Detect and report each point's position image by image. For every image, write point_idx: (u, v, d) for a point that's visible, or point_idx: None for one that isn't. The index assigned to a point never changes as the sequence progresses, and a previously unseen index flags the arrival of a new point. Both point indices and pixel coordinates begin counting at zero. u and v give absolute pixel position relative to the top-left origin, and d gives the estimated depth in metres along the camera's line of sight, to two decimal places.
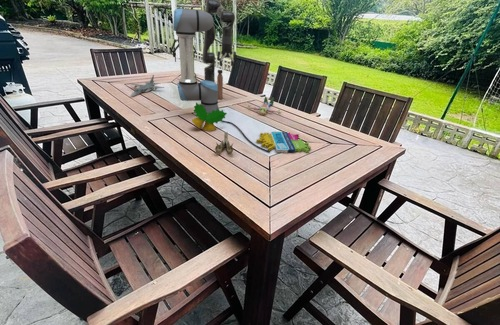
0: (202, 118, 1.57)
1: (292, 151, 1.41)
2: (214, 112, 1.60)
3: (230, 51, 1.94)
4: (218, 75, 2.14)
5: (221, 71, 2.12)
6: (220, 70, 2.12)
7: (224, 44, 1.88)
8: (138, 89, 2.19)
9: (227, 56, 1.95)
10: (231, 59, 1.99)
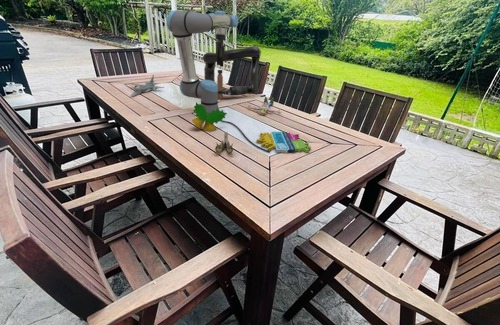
0: (202, 118, 1.57)
1: (292, 151, 1.41)
2: (214, 112, 1.60)
3: None
4: (218, 75, 2.14)
5: (221, 71, 2.12)
6: (220, 70, 2.12)
7: (235, 94, 2.26)
8: (138, 89, 2.19)
9: None
10: None
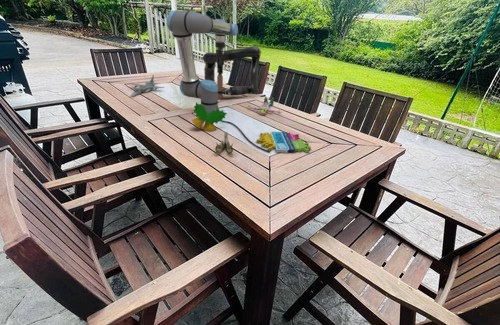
0: (202, 118, 1.57)
1: (292, 151, 1.41)
2: (214, 112, 1.60)
3: None
4: (218, 75, 2.14)
5: None
6: None
7: (235, 94, 2.26)
8: (138, 89, 2.19)
9: None
10: None
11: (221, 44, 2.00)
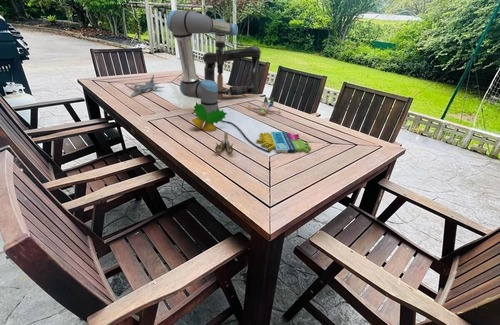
0: (202, 118, 1.57)
1: (292, 151, 1.41)
2: (214, 112, 1.60)
3: None
4: (218, 75, 2.14)
5: None
6: None
7: (235, 94, 2.26)
8: (138, 89, 2.19)
9: None
10: None
11: (221, 44, 2.00)
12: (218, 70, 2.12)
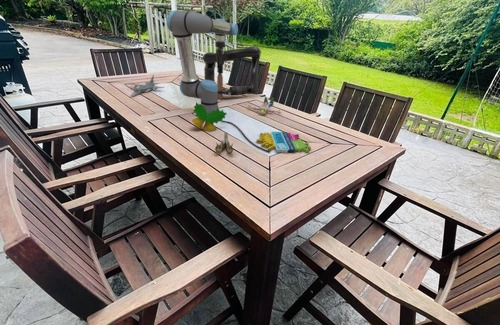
0: (202, 118, 1.57)
1: (292, 151, 1.41)
2: (214, 112, 1.60)
3: None
4: (218, 75, 2.14)
5: None
6: None
7: (235, 94, 2.26)
8: (138, 89, 2.19)
9: None
10: None
11: (221, 44, 2.00)
12: None
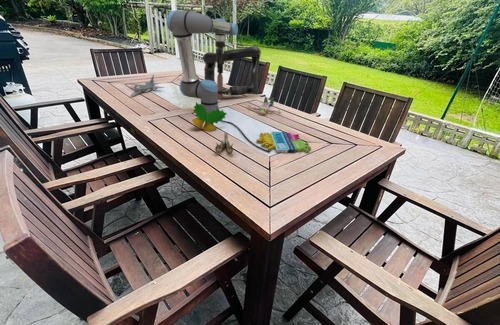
0: (202, 118, 1.57)
1: (292, 151, 1.41)
2: (214, 112, 1.60)
3: None
4: (218, 75, 2.14)
5: None
6: None
7: (235, 94, 2.26)
8: (138, 89, 2.19)
9: None
10: None
11: (221, 43, 2.00)
12: None
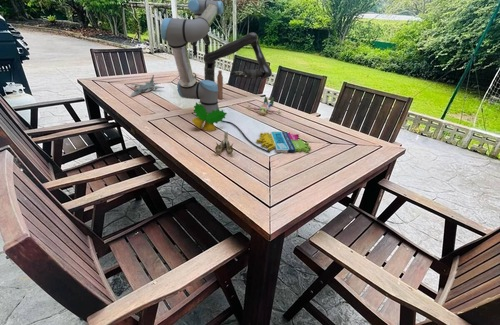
0: (202, 118, 1.57)
1: (292, 151, 1.41)
2: (214, 112, 1.60)
3: None
4: (218, 75, 2.14)
5: None
6: None
7: (250, 77, 2.24)
8: (138, 89, 2.19)
9: None
10: (235, 72, 2.24)
11: None
12: (200, 100, 2.10)
